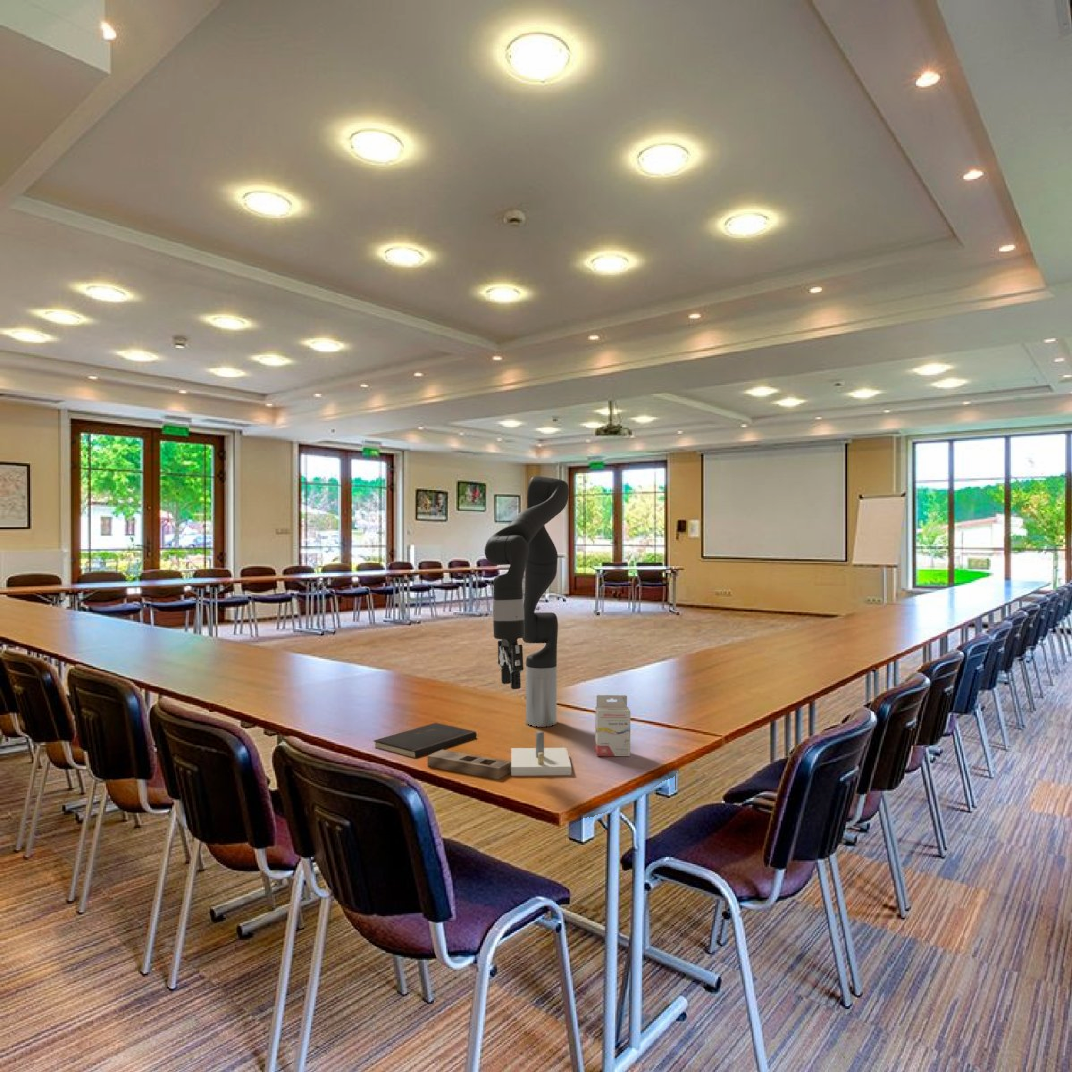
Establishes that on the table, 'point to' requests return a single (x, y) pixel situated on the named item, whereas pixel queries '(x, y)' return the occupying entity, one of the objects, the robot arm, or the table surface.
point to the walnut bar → (469, 764)
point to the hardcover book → (425, 739)
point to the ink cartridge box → (612, 726)
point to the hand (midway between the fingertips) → (510, 686)
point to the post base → (540, 760)
